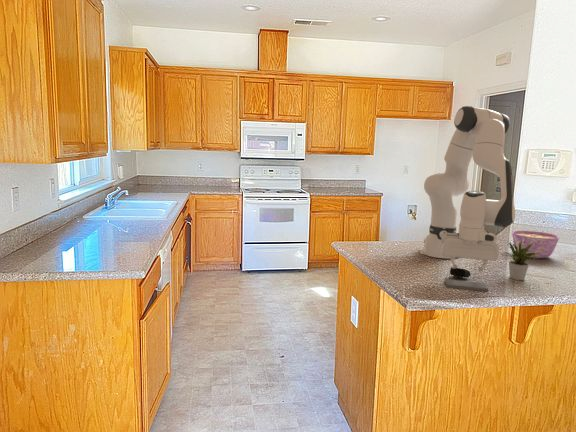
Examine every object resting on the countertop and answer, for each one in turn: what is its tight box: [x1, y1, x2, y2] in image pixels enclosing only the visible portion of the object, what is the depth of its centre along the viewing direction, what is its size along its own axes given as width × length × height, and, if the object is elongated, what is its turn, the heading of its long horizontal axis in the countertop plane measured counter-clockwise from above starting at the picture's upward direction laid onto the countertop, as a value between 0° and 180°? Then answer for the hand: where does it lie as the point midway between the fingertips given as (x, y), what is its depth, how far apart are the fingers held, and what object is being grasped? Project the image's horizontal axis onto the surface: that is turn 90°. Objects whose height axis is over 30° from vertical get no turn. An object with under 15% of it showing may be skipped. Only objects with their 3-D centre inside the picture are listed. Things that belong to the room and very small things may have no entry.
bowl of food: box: [511, 230, 560, 259], centre depth 208 cm, size 20×20×12 cm
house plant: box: [499, 239, 537, 281], centre depth 170 cm, size 14×14×16 cm
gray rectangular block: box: [444, 278, 489, 292], centre depth 158 cm, size 8×14×1 cm, turn 75°
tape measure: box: [449, 266, 472, 279], centre depth 168 cm, size 7×7×4 cm
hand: (467, 269), depth 164 cm, fingers open, 8 cm apart
